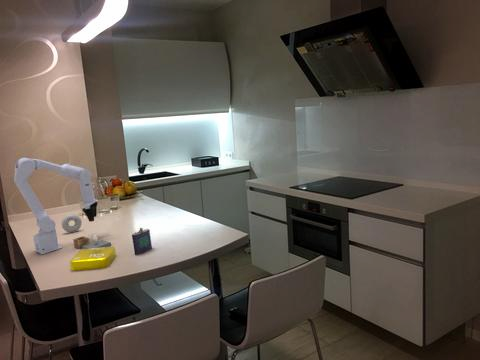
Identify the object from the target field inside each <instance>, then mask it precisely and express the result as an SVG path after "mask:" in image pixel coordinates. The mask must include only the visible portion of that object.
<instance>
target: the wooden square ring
mask: <svg viewBox="0 0 480 360" xmlns="http://www.w3.org/2000/svg"><path fill="white" fill-rule="evenodd" d="M72 240H73V247H74V249H75V248H76V249H78V250H82V246H84V245H87V244H90V239H89V237H87V236H85V235H84V236H83V235H82V236H80V237H76V238H73V239H72Z"/></svg>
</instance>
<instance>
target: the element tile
mask: <svg viewBox="0 0 480 360" xmlns="http://www.w3.org/2000/svg"><path fill="white" fill-rule="evenodd" d="M116 257H117V252H116V247H115V246H108V247H102V248H91V249H80V250H79V252H78V253H76V254H75V255H74V256H73V258H72V259H70V261H69V262H70V263H69V264H70V269H71V271H72V272H76V271H77V272H78V271H89V270H90V271H91V270H99V269H105V268H106V269H107V268H108V267H110V265H111V264H112V263H113V261H114V260H115V258H116Z"/></svg>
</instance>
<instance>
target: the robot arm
mask: <svg viewBox="0 0 480 360" xmlns="http://www.w3.org/2000/svg"><path fill="white" fill-rule="evenodd" d="M41 169H45V170H50V171H52V172H53V171H54V172H58V173H60V175H61V176H63V177H67V178H71V179H75V180H76V179H77V180H78V185H79V189H80V195H81V199H82V205H83V206H84V207H83V208H82V212H83V214H85V215H86V218H87V220H88V221H89V222H94V221H95V218H97V216H98V215H97V214H98V212H97V211H98V210H97V207H98V202H99V199H96V198H95V193H94V187H93V183H92V180H91V179H92V173H91V172H90V170H89V169H87V168H83V167H82V166H75V165H72V163H64V164H62V165H60V164H56V163H54V162H53V163H52V162H49V161H45V160H43V159H38V158H36V159H35V158H28V157H21V158H19V159H18V160H17V161H16V164H15V165H14V176H13V177H14V178H13V182H14V184H15V185H16V187H17V189H18V190H19V192H20V194H21V195H22V197H23V199H24V200H25V202H26V204H27V205H28V207H29V208H30V210H31V211H32V213H33V215H34V218H35V219H36V225H37V227H38V228H39V230H38V233H36V234H34V235H33V242H34V249H35V250H34V252H36V253H38V254H41V255H44V254H48V253H51V252H53V251H58V250H60V249H63V246H60V245H59V242H58V235H57V230H56V222H55V220H54V219H52V218H51V217H50V216H49V215H48V213H47V212H46V211H45V208H44V207H43V205H42V204H41V202H40V200H39V199H38V197H37V195H36V194H35V192H34V190H33V189H32V187H31V185H30V184H29V182H28V180H29V179H30V178H29V177H30V175H31V174H32V173H33V172H34V171H35V170H41Z"/></svg>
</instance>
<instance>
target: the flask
mask: <svg viewBox="0 0 480 360" xmlns="http://www.w3.org/2000/svg"><path fill="white" fill-rule="evenodd" d="M131 237H132V239H131V240H132V243H133V244H132V245H133V251H134V255H135V256H136V255H138V256H139V255H140V254H144V253H146V252H148V251H150V250H152V248H153V245H152V239H151V230H150V229H149V228H145V229H144V228H143V227H139V229H138V231H135V232H134V233H132V235H131Z"/></svg>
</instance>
